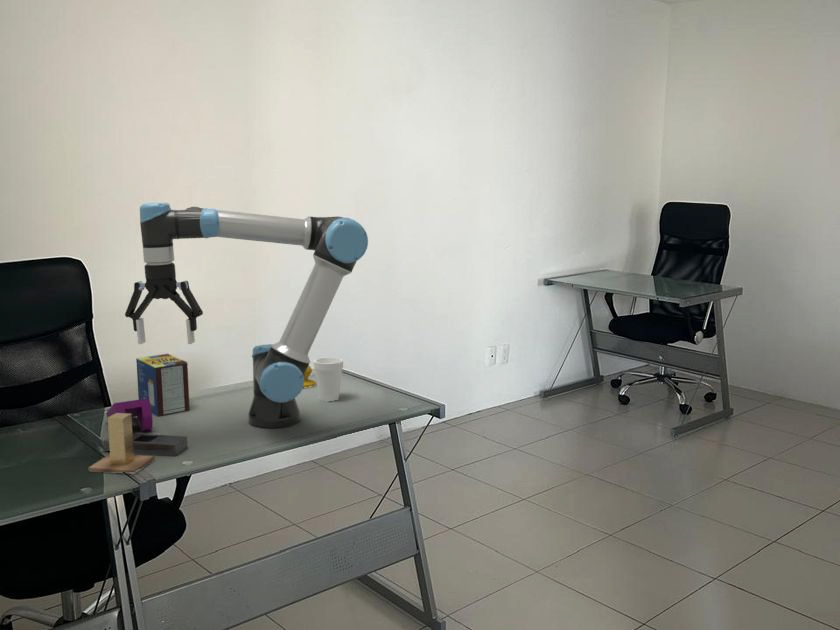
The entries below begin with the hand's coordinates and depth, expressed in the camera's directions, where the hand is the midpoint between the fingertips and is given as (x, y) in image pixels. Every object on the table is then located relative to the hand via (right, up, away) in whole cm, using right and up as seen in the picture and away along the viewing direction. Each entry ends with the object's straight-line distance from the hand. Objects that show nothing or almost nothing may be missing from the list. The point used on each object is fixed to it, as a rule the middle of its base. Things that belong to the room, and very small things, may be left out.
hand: (166, 343), depth 204 cm
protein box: (-13, -22, +38) cm, 46 cm away
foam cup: (+37, -20, +49) cm, 65 cm away
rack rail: (-6, -28, +1) cm, 29 cm away
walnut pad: (-7, -30, -11) cm, 33 cm away
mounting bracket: (-18, -25, +20) cm, 36 cm away
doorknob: (+26, -17, +66) cm, 73 cm away
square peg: (-7, -29, -11) cm, 32 cm away
